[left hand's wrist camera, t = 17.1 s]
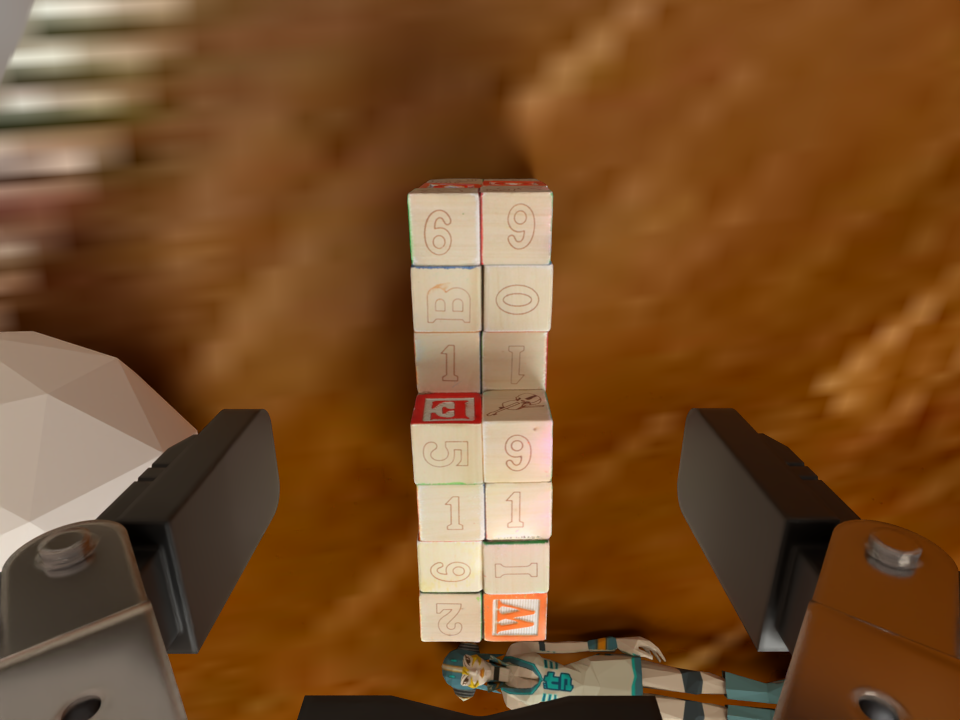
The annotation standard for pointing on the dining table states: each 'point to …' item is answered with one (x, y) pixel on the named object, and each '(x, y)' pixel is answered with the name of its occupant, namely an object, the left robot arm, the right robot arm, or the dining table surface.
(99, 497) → the sphere
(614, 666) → the figurine
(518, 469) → the stack of blocks
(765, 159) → the dining table surface
